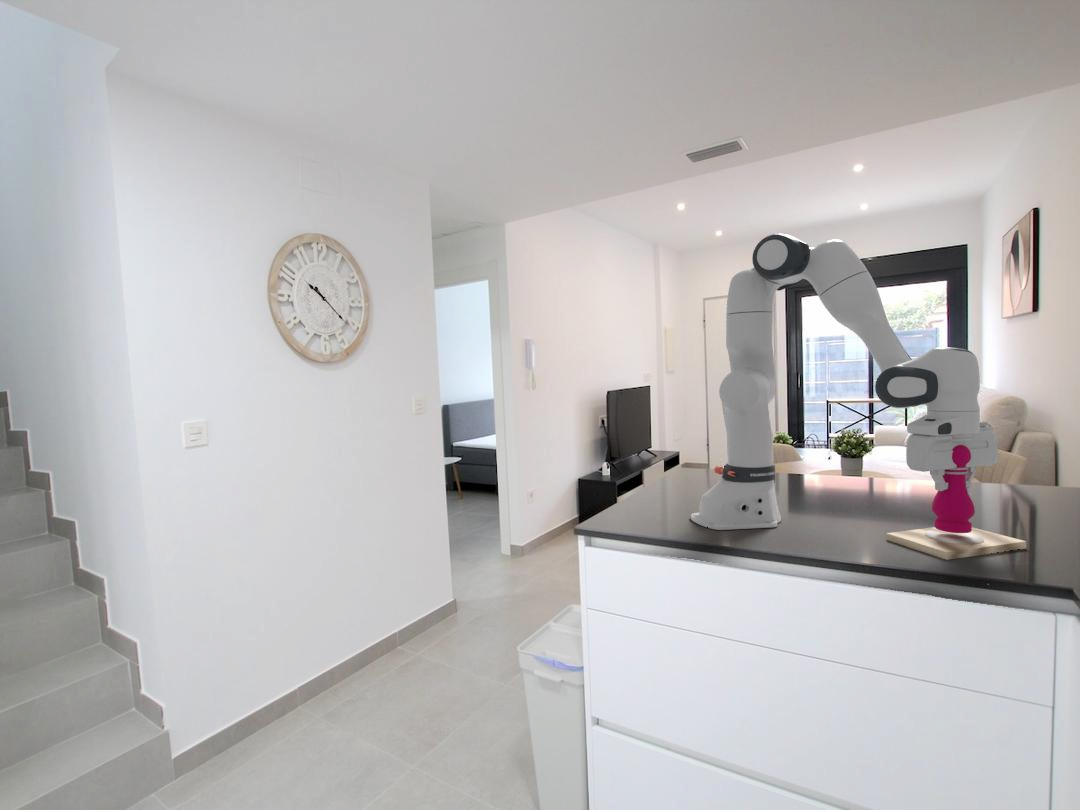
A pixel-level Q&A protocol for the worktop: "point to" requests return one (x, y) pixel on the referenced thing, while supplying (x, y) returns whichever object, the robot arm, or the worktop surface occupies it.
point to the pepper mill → (955, 496)
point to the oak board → (955, 542)
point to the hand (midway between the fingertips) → (953, 489)
